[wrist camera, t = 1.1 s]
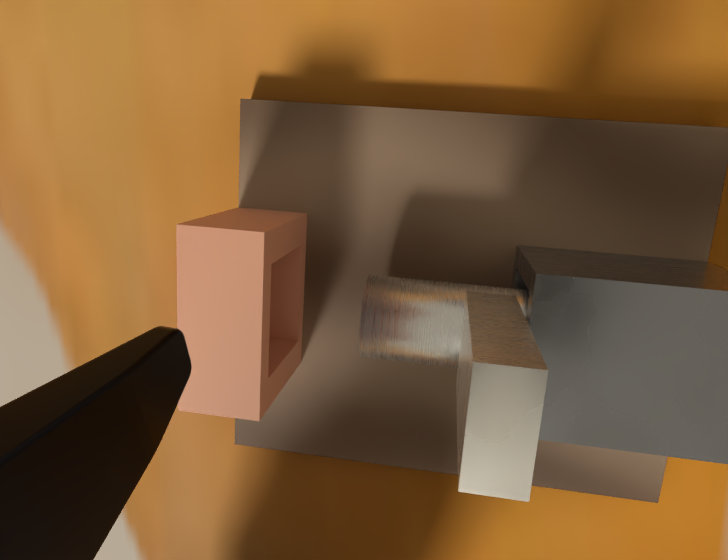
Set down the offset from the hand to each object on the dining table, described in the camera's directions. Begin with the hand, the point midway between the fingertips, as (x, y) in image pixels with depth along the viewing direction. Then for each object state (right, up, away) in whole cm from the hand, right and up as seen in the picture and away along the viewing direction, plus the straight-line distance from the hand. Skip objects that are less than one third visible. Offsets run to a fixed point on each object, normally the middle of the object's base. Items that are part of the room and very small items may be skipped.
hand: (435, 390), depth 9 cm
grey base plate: (+2, +1, +13) cm, 14 cm away
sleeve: (+8, 0, +13) cm, 15 cm away
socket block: (-5, +2, +14) cm, 15 cm away
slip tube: (+5, 0, +11) cm, 12 cm away
